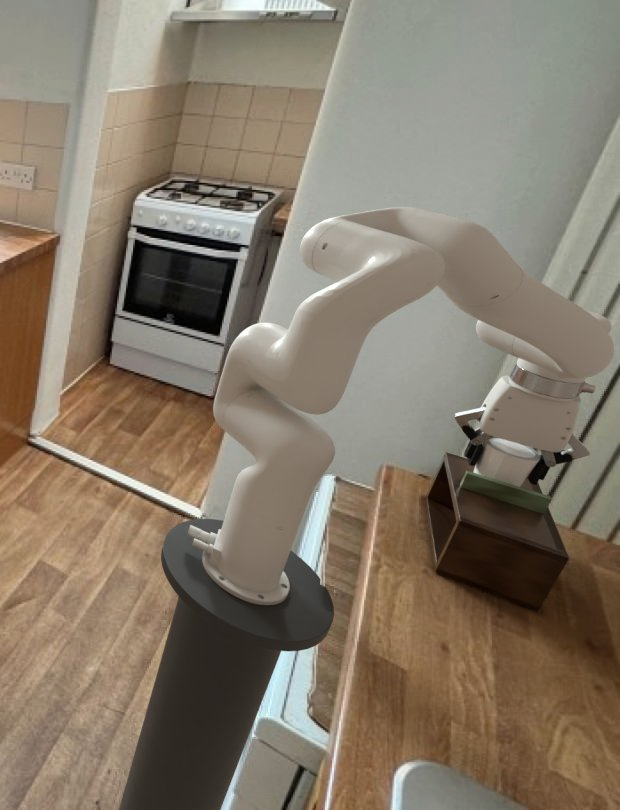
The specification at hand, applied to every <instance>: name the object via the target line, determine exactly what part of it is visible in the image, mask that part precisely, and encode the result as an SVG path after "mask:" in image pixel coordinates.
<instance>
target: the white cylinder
mask: <svg viewBox="0 0 620 810" xmlns="http://www.w3.org/2000/svg"><path fill="white" fill-rule="evenodd" d="M482 446H483V450H482V452H481V455H480V457H479V459H478V461H477V463H476V465H475V468H474V472H473V473H476V474H479V475H483V476H486V477H489V478H492V479H496V480H499V481H502V482H505V483H509V484H512V485H515V486H518V487H520V486H521V485H522V483H523V482H524V481H525V479H526V478H527V476H528V475H529V474H530V472H531V471H532V470H533V468H534V467H535V466H536V464H537V463H538V461H539V460H540V455H541V454H540V453H539V452H538V451H536V450H535V448H532V447H529V446H525V445H522V444H518V443H514V442H511V441H507V440H504V439H500V438H497V437H492V438H491V439H489V440H487V441H485V442H484V443H482Z"/></svg>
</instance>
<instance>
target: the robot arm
mask: <svg viewBox="0 0 620 810" xmlns="http://www.w3.org/2000/svg"><path fill="white" fill-rule="evenodd" d="M299 255H300V259H301V261H302V262H303V264H304V265H305V266H306V267H307V269H309V270H311V271H312V272H315V273H316V274H319V275H320V276H323V277H326V278H329V279H331V280H333V281H336V282H334V283H332V284H330V285H328V286H326V287H324V288H322V289H320V290H318V291H316V292H314V293H312V294H311V295H310V296H308V297H307V298H305V299H304V300H303V301H302V302H301V303H300V304H299V305H298V306H297V308H296V310H295V312H294V315H293V316H292V320H291V321H290V324H289V327H288V328H286V327H284V326H282V325H279V324H277V323H273V322H257V323H254V324H252V325H250V326H248V327H246V328H245V329H244V330H242V331H241V332H240V333H239V334H238V336H236V337H235V339H234V340H233V342H232V343H231V345H230V347H229V348H228V349H229V350H228V352H227V355H226V358H225V362H224V365H223V367H222V372H221V376H220V378H219V381H218V386H217V389H216V393H215V396H214V400H213V406H212V407H213V408H212V413H213V418H214V420H215V422H216V423H217V425H218V426H219V427H220V428H221V429H222V430H223V431H224V432H225V433H226V434H227V435H229V436H230V437H231V438H233V439H234V440H235V441H236V442H237V443H239V444H240V445H241V446H242V447H243V448H244V449H245V450H246V451H248V452H249V453H250V454H251V455H252V456H253V457H254V459H255V464H253V465H250V466H247V467H245V468H243V469H242V470H241V471H240V472H239V473H238V475H237V476H236V478H235V481H234V485H233V488H232V492H231V494H230V498H229V502H228V505H227V508H226V512H225V515H224V518H223V521H224V522H223V525H222V528H221V529H219V530H218V534H215V533H212V532H211V533H210V534H209V533H207V532H205V531H202V530H201V529H199V528H197V527H194V526H192V525H190V527H189V531H188V534H187V535H188V536H190V537H192V538H194V541H193V544H192V546H194V547H196V548H198V549H201V550H204V551H203V555H202V563H203V565H204V568H205V570H206V572H207V573H208V575H209V576H210V577H211V578H212V579H213V580H214V581H215V582H216V583H217V584H218V585H219V586H220V587H221V588H223V589H224V590H225V591H227V592H228V593H230V594H232V595H233V596H235V597H238V598H240V599H242V600H244V601H247V602H250V603H254V604H258V605H276V604H279V603H281V602H283V601H284V600H285V599H286V597H287V596H288V593H289V590H290V584H289V580H288V578H287V576H286V574H285V572H284V571H283V570H284V567H285V564H286V562H287V559H288V556H289V553H290V550H291V551H292V547H293V545H294V542H295V539H296V536H297V534H298V530H299V528H300V525H301V522H302V519H303V517H304V514H305V511H306V509H307V506H308V503H309V502H310V499H311V496H312V494H313V492H314V490H315V488H316V486H317V485H318V484H319V482H320V480H321V479H322V477H323V476H324V474H325V473H326V472H327V471H328V469H329V467H330V466H331V465H332V463H333V461H334V458H335V455H336V446H335V442H334V440H333V439H332V437H331V435H330V433H328V432H327V430H325V429H324V428H323V427H322V426H321V425H320V424H319V423H318V422H317V421H315V420H314V419H312V418H311V417H310V416H308V415H306V414H309V415H324V414H327V413H329V412H330V411H332V410H333V409H335V408H336V407H337V406H338V404H339V403H340V401H341V399H342V398H343V395H344V393H345V391H346V389H347V386H348V384H349V381H350V379H351V376H352V373H353V371H354V368H355V365H356V363H357V360H358V358H359V355H360V353H361V351H362V347H363V345H364V343H365V341H366V339H367V337H368V335H369V334H370V333H371V331H372V330H373V328H374V327H375V326H377V325H378V324H379V323H380V322H381V321H383V320H384V319H386V318H387V317H388V316H390V315H392V314H394V313H395V312H397V311H399V310H400V309H402V308H404V307H405V306H408V305H410V304H412V303H415V301H419V300H420V299H421V298H423V297H425V296H426V295H428V294H429V293H431V292H432V291H433V290H434V289H435V288H436V287H438V288H439V289H440V290H441V291H442V292H443V293H444V294H445V296H446V297H447V298H448V299H449V300H450V301H451V302H452V303H453V304H454V306H456V307H457V309H459V310H461V311H462V312H464V313H466V315H467V314H468V315H469V316H470V317H472V318H475V319H476V320H477V322H476V324H475V332H476V334H477V336H478V338H479V339H480V340H481V341H482V342H483V343H484V344H486V345H488V346H490V347H491V348H493V349H495V350H498V351H501V352H503V353H505V354H508V355H510V356H512V357H514V358H518V359H517V360H516V363H515V364H514V366H513V368H512V370H511V373H510V375H502V376H501V377H500V378H499V379H498V380H497V382H496V383H494V386H493V387H492V388H491V389H490V391H489V392H488V394H487V395H486V397H485V399H484V400H483V402H482V404H481V405H480V407H478V408H473V409H469V410H463V411H459V412H455V413H454V414H453V418H454V420H455V422H456V423H457V425H458V426H459V427H460V429H461V431H462V432H463V434H465V436H466V437H467V439H468V440H469V441H468V443H467V445H466V448H465V449H464V452H463V456H464V458H467V460H468V463H469V465H471V466H475V465H476V463H477V461H478V459H479V457H480V455H481V452H482V450H483V446H482V443H484V442H485V441H487V440H489V439H491V438H492V437H497V438H500V439H504V440H507V441H511V442H514V443H518V444H522V445H525V446H529V447H530V448H532V449H536V450H540V454H539V455H540V460H539V461H538V463H537V464H536V466H535V467H534V468H533V470H532V471H531V472H530V474H529V475H528V476H527V477H528V480H529V482H530V483H531V484H533V485H537V483H539V481H540V480H541V481H544V480H545V478H546V477H547V474H548V472H549V471H550V468H555V467H556V466H557V465H561V464H564V463H569V462H572V461H573V460H578V459H582V458H585V457H589V456H590V455H591V453H590V451H589V449H588V448H587V446H585V445H584V443H582V442H581V440H579V439H578V437H577V436H576V435H575V434H574V433H573V432H574V429H575V426H576V423H577V420H578V417H579V412H580V408H581V402H582V399H581V396H580V395H581V394H582V393H584V394H586V393H588V394H594V393H595V391H596V385H594V384H589V383H588V382H586V379H587V378H592V377H595V376H597V375H598V374H600V373H602V372H603V371H605V370H606V369H607V368H608V367H609V365H610V364H611V362H612V360H613V359H614V355H615V354H614V353H615V345H614V341H613V338H612V336H611V335H610V334H611V331H612V323H611V321H610V320H609V319H608V318H607V317H605V316H604V315H602V314H599V313H596V312H594V311H591V310H587V309H584V308H583V307H581V306H580V305H579V304H576V303H575V302H574V301H571V300H570V299H569V298H566V297H565V296H563V295H562V294H560V293H559V292H556V290H554V289H552V288H550V287H549V286H548V285H546V284H544V283H542V282H541V281H539V280H537V279H536V278H534V277H532V276H530V275H529V274H527V273H526V272H525V271H524V270H523V268H522V267H521V266H520V265H519V264H518V262H517V261H516V260H515V259H514V258H513V257H512V256H511V255H510V253H509V252H508V250H506V248H505V247H504V246H503V245H502V244H501V243H500V241H499V240H498V239H497V238H496V237H495V236H494V234H493V233H492V232H491V231H489V229H487V228H486V227H484V226H482V225H481V224H478V223H476V222H473V221H471V220H467V219H464V218H461V217H456V216H451V215H447V214H444V213H440V212H435V211H431V210H427V209H423V208H419V207H413V206H412V207H411V206H395V207H385V208H380V209H379V208H378V209H372V210H367V211H362V212H355V213H350V214H343V215H338V216H333V217H329V218H327V219H323V220H322V221H320V222H318V223H316V224H314V225H313V226H312V227H310V229H309V230H307V232H306V233H305V234H304V236H303V237H302V239H301V242H300V246H299ZM473 420H476V421H477V422H479V426H478V427H477V428H475V429H474V427H473V426H472V425H471V424H470V421H473ZM567 445H569V446H570V447H571V448H568V449H565V448H566V447H567ZM202 541H203V542H202ZM204 542H205V543H204ZM206 543H207V544H206Z"/></svg>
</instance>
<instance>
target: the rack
mask: <svg viewBox="0 0 620 810" xmlns="http://www.w3.org/2000/svg"><path fill="white" fill-rule="evenodd" d="M474 468H475V466H471V465H469V463H468V460H467V457H463V456H461V455H457V454H453V453H450V452H447V451H445V453H444V455H443V457H442V460H441V461H440V463H439V466H438V468H437V470H436V473H435V475H434V477H433V479H432V481H431V484H430V486H429V488H428V491H427V492H426V495H425V497H424V503H425V510H426V517H427V524H428V525H427V526H428V532H429V536H430V537H429V540H430V546H431V552H432V559H433V567H434V573H436V574H439V575H440V576H444V577H447V578H449V579H452V580H454V581H457V582H460V583H462V584H463V585H467V586H470V587H472V588H474V589H478V590H480V591H482V592H485V593H487V594H489V595H493V596H495V597H498V598H500V599H503V600H505V601H508V602H511V603H512V604H516V605H519V606H521V607H524V608H527V609H528V610H532V611H534V612H537V613H539V611H540V609H541V608H542V606H543V605H544V602H545V601H546V599H547V597H548V596H549V594H550V592H551V591H552V589H553V587H554V586H555V584H556V582H557V581H558V579H559V577H560V576H561V573H562V572H563V571H564V569H565V567H566V565H567V563H568V562H569V560H570V555H569V553H568V552H567V549H566V546H565V544H564V542H563V539H562V536H561V535H560V531H559V530H558V528H557V524H556V522H555V520H554V518H553V515H552V513H551V510H550V508H549V505H550V503H551V502H552V497H551V496H550V495H547V494H544V493H543V491H542V489H541V485H540V483H539V482H538V483H537V485H533V484H531V483H530V482H529V480H528V477H527V478H526V479H525V481H524V482H523V483H522V485H521V486H520V487H518V486H515V485H512V484H509V483H505V482H502V481H499V480H496V479H492V478H489V477H486V476H483V475H479V474H476V473H473V472H474Z"/></svg>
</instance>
